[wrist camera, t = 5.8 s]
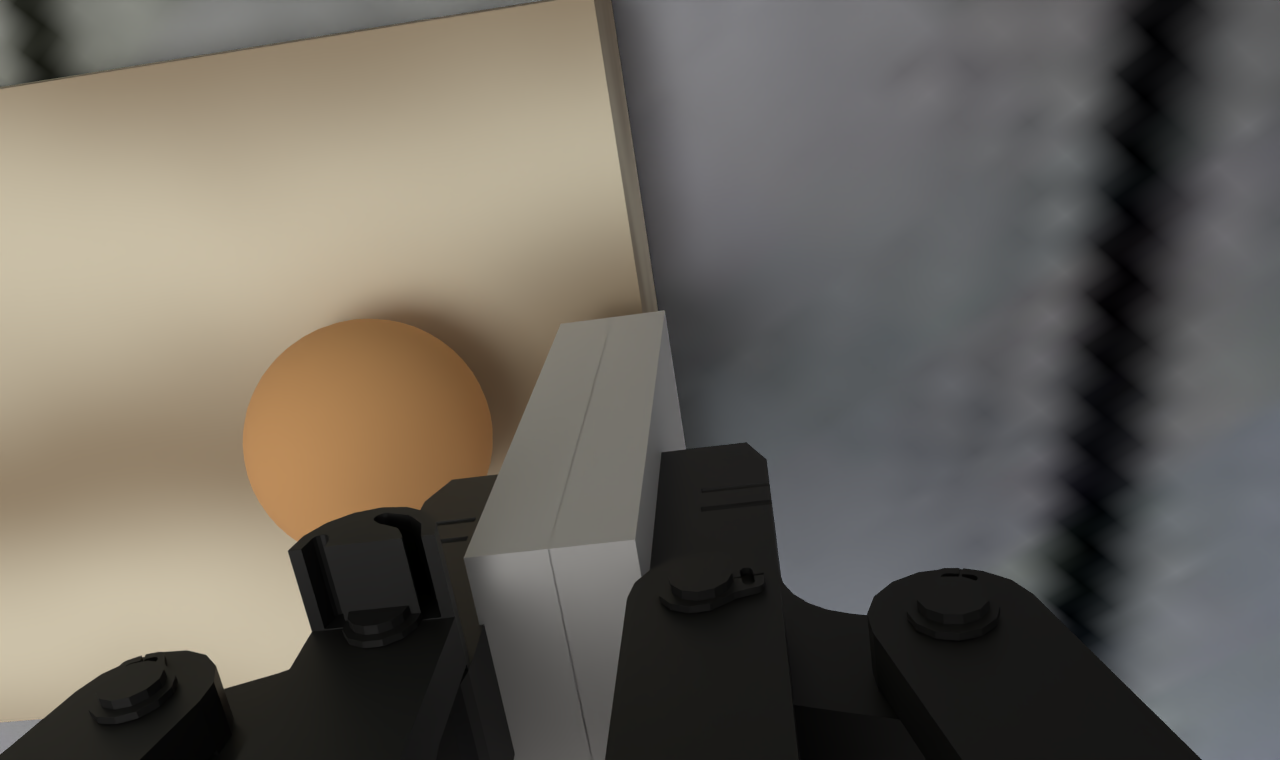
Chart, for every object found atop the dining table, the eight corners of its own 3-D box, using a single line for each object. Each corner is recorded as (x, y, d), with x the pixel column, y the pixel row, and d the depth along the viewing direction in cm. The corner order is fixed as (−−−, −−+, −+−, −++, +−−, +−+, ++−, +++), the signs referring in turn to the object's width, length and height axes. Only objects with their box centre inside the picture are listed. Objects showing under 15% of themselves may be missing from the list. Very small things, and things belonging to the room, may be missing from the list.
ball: (270, 304, 17) (164, 385, 14) (489, 275, 17) (431, 352, 13) (326, 503, 18) (241, 621, 15) (530, 481, 18) (488, 597, 15)
